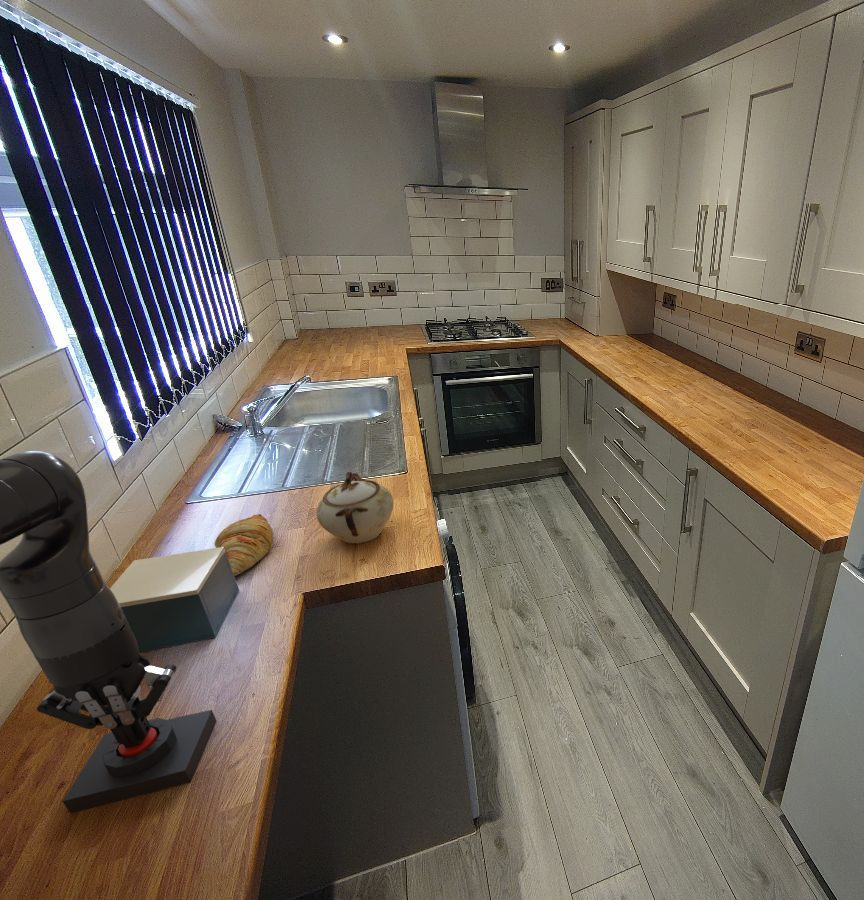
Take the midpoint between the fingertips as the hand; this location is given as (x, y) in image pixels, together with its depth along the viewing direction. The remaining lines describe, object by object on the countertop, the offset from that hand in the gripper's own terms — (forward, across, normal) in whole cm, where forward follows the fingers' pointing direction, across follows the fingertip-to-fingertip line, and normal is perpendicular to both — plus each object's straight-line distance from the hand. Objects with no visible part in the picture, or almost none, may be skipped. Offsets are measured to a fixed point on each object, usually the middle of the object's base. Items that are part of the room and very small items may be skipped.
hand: (138, 740), depth 64 cm
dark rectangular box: (+4, -6, +29) cm, 30 cm away
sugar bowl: (+4, +20, +49) cm, 53 cm away
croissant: (+4, -2, +49) cm, 49 cm away
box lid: (-5, -6, +29) cm, 30 cm away
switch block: (+4, 0, 0) cm, 4 cm away
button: (+2, 0, 0) cm, 2 cm away
